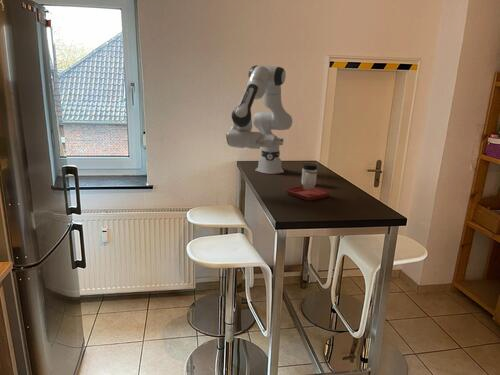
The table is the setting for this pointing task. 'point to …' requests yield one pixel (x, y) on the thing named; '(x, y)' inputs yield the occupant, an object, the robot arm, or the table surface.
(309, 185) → the canister
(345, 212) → the table surface
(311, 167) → the jar
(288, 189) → the plant saucer
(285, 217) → the table surface
